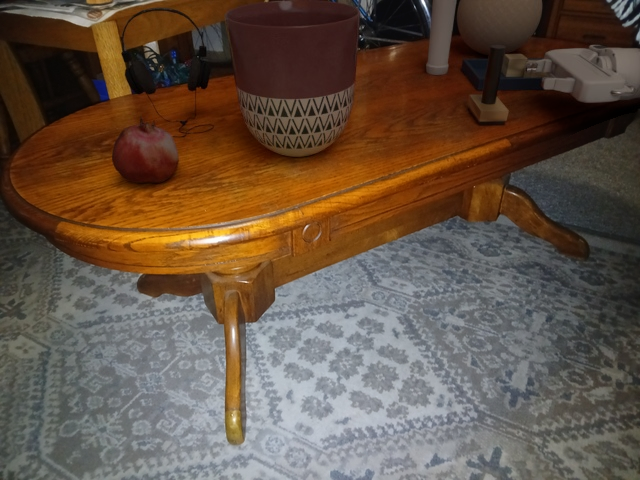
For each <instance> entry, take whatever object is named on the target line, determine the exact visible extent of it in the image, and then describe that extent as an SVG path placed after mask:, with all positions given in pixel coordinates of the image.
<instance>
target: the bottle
mask: <svg viewBox="0 0 640 480" xmlns="http://www.w3.org/2000/svg"><path fill="white" fill-rule="evenodd" d="M456 7H457V0H432V5H431V17H430V31H429V32H430V33H429V41H428V53H427V54H428V56H427V62H426V63H425V64H426V65H425V70H426V73H427V74H428V75H431V76H443V75H446V74H448V71H449V63H448V62H449V56H450V49H451V43H452V37H453V36H452V35H453V29H454V23H455V21H454V20H455V14H456Z"/></svg>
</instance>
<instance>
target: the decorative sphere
mask: <svg viewBox="0 0 640 480" xmlns="http://www.w3.org/2000/svg"><path fill="white" fill-rule="evenodd" d="M542 13H543V0H459V2H458V6H457V12H456V23H457V29H458V33H459V34H460V37H461V38H462V40H463V42H464V43H465V44H466V45H467V46H468V47H469V48H470V49H472V50H473V51H474V52H476V53H479V54H481V55H485V56H489V51H490V46H491V45H503V46H505V47H506V48H505V54H511V53H512V52H514V51H516V50H518V49H519V48H521V47H523V46H524V45H525V44H526V43H527V42H528V41H529V40H530V39H531V38H532V36H533V35H534V34H535V32H536V30H537V28H538V26H539V24H540V21H541V18H542Z"/></svg>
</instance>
